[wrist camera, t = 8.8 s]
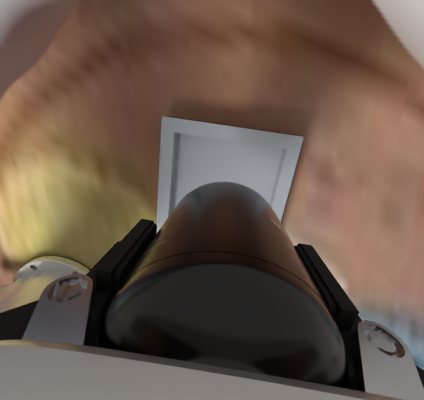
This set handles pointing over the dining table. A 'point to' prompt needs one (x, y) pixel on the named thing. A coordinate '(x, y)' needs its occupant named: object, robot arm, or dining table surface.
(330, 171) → the dining table surface
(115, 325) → the supplement bottle
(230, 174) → the tray
